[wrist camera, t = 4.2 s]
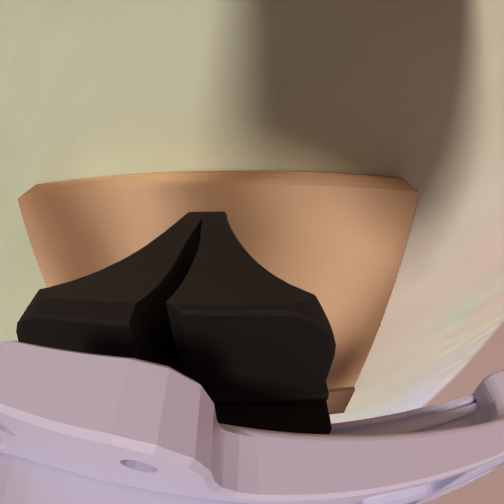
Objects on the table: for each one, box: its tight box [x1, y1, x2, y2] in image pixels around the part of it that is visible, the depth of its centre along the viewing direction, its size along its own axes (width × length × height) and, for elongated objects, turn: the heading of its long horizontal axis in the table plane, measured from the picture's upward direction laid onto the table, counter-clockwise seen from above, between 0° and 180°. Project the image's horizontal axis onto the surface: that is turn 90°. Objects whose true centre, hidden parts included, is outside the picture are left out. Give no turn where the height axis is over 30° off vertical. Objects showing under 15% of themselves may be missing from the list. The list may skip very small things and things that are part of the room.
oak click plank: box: [18, 171, 419, 389], centre depth 14 cm, size 16×12×2 cm
